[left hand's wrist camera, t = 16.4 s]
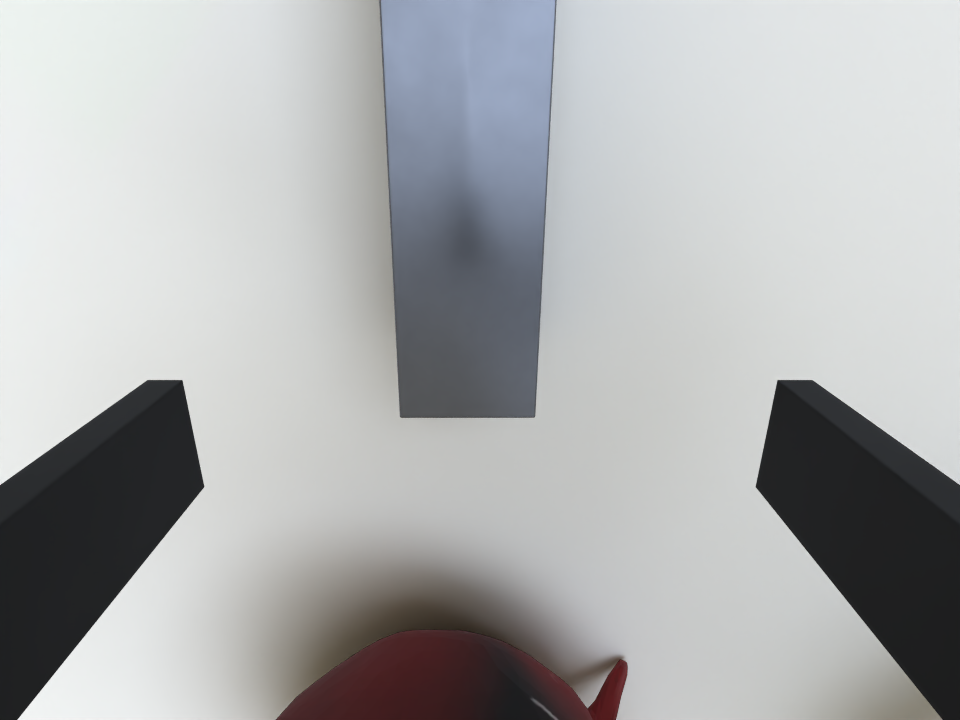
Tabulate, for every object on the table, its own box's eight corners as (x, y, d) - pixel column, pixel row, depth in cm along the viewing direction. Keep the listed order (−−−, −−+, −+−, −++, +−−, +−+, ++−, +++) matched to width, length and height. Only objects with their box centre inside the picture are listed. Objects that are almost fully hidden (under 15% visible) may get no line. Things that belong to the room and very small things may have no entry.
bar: (518, 343, 29) (535, 418, 22) (418, 343, 29) (399, 417, 22) (540, -265, 21) (582, -502, 13) (397, -268, 20) (353, -509, 13)
